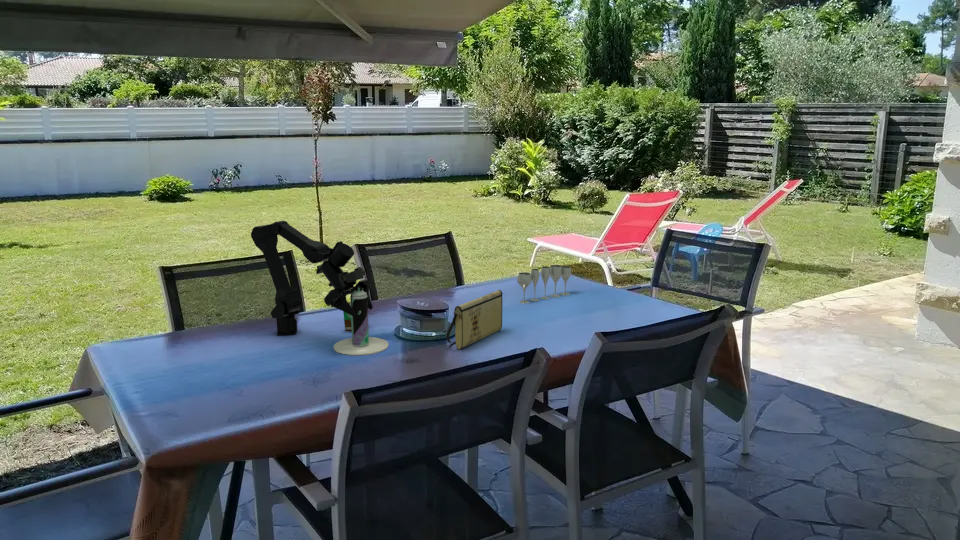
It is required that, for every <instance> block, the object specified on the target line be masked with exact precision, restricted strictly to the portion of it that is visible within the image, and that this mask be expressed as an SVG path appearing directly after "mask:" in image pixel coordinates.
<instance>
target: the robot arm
mask: <svg viewBox="0 0 960 540" xmlns="http://www.w3.org/2000/svg"><path fill="white" fill-rule="evenodd" d="M250 236H251V237H250V238H251V239H252V241H253V243H254V246H255V247H256V248H257V249H259V250H260V252H261V253H262V255H263V257H264V260H265V263H266V265H267V269H268V271H269V275H270V277H271V280H272V282H273V285H274V288H275V297H274V301H275V306H274V307H273V309H272V310H271V311H270V315H271V318H272V319H276V336H287V335H288V336H290V335H296V334H297V331H298V321H297V320H298V319H297V317H296V316H295V315H299V314H300V309H301V306H302V304H303V302H302V299H303V298H302V297H301V295H300V291H299V289H298V288H295V289H294V288H293V287H292V286H291V285H290V282H289V279H288V277H287V274H286V270H285V268H284V265H283V262H282V259H281V257H280V254H279V251H278V248H277V246H278V241H279V238H278V237H279V236H281V237H282V238H283V239H285V241H287V242H288V243H290V244H292V245H293V246H295V248H298V250H300V251H301V252H302V254H303V256H304V258H305V259H306V260H307V261H308V262H309V263H312V264H318V263H321V264H319V265H317V266H316V272H315V274H316V275H320V274H323V275H324V277H325V278H326V279H327V280H328V282H329V283H328V286H329V288H331V287H333V289H330V291H329V292H328V293H326V294H327V295H325V297H323V298H324V303H325V304H326V306H327V307H331V308H334V309H338V310H339V311H341V312H343V311H344V312H346V313H348V314H350V315H352V316H354V315H355V312H354V311H353V309H352V308H351V306H350V305H349V301H348V300H347V296H348V295H351V293H353V292H354V290H355V289H356V287H360V286H361V289H362V290H363V291H364V292H366V293H367V302H368V310H369V311H371V310H372V309H374V306H373V304H372V301H371V296H370V294H369V291H370V289H371V286H372V282H371V281H370V280H369V279H364V278H365V277H364V276H365V275H366V271H365V270H364V269H363V267H361V266H358V267H356V268H354V270H353V271H350V272H349V271H344V270H343V269H342V268H344V267H345V266H346V265H347V264H348V263H349V261H350V260H351V259H352V258H353V257H354V255H355V250H354V249H353V247H352V246H350V245H348V244H346V243H343V241H342V240H340V241H337V242H336V243H335V244H334V246H333V248H332V247H330V246H329V245H327V244H326V243H324V242H321V241H320V240H319V241H318V240H314V239H312V238H309V236H306V235H305V234H303V233H302V232H301V231H299V230H298V229H296V228H295V227H293V226H292V225H291V224H289V223H288V222H287V221H286V220H278V221H274V222H273V223H270V224H264V225H263V224H262V225H259V226H257V225H256V226H254V227H253V228H252V229H251V232H250ZM358 280H359V281H358ZM357 281H358V282H357Z"/></svg>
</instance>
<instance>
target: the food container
mask: <svg viewBox="0 0 960 540" xmlns="http://www.w3.org/2000/svg"><path fill="white" fill-rule="evenodd" d="M348 303H349V305H350V306H351V301H348ZM342 312H343V313H342V314H343V322H344V332H345V331H351V332H352V324H351V315H350V314H348V313H346V312H344V311H342Z"/></svg>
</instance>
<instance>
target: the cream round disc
mask: <svg viewBox="0 0 960 540" xmlns="http://www.w3.org/2000/svg"><path fill="white" fill-rule="evenodd" d="M388 348H389V341H387V340H386V339H383V338H379V337H375V336H369V345H368V346H366V347H354V346H352V337H350V338H349V337H348V338H345V339H341V340H339V341H337V342H336V343H335V344H334V345H333V350H334V352H336V353H338V354H340V353H341V354H340V355H345V354H346V356H370V355H374V354H378V353H381V352H383V351H384V352H385V351H386V350H387V349H388Z"/></svg>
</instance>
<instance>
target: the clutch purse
mask: <svg viewBox="0 0 960 540" xmlns="http://www.w3.org/2000/svg"><path fill="white" fill-rule="evenodd" d="M503 295H504V294H503V291H502V290H501V289H498V290H496V291H493V292H490V293H488V294H486V295H482V296H481V297H478V298H475V299H473V300H469V301H468V302H465V303H463V304H459V305H457V306H455V307H454V311H453V317H452V320H451V323H450V326H449V328H448V330H447V332H446V336H445V337H446V341H447V342H448V343H449V344H454V343H455V347H456V349H457V350H458V351H459V350H461V349H463V348H465V347H467V346H470V345H472V344H473V343H475V342H478V341H479V340H482V339H484V338H486V337H488V336H490V335H492V334H495V333H496V332H500V331H501V330H502V327H503ZM453 328H454V331H455V333H454V337H455V338H454V339H455V341H451V340H450V335H451V332H452V330H453Z"/></svg>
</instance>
